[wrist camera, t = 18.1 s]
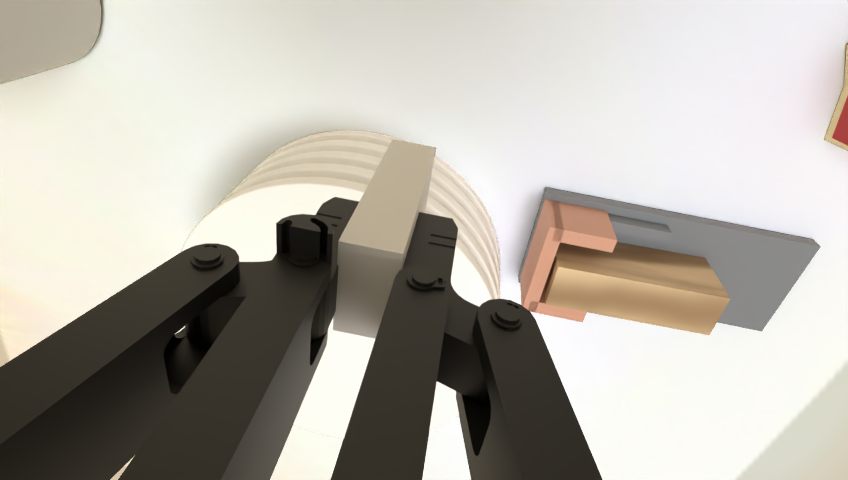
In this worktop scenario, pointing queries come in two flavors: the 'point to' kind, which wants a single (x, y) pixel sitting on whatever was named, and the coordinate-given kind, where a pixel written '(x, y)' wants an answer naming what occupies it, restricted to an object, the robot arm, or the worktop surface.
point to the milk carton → (840, 116)
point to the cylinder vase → (45, 34)
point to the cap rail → (643, 226)
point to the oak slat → (637, 286)
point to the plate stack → (304, 194)
